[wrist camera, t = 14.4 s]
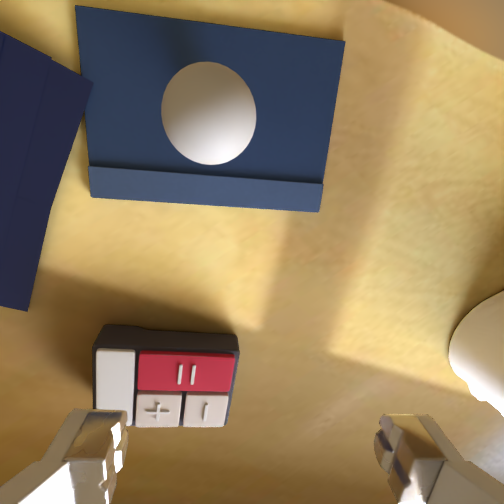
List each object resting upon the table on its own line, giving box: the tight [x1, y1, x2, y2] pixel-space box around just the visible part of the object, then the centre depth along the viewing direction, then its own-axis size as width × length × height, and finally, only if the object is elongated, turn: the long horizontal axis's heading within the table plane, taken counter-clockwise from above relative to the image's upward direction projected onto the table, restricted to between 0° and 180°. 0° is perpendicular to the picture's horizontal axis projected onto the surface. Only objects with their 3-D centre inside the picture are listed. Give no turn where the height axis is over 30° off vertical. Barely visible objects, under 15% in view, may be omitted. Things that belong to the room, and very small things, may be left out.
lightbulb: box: [161, 62, 256, 165], centre depth 22 cm, size 6×6×11 cm
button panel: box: [92, 325, 240, 427], centre depth 35 cm, size 11×4×15 cm
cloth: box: [75, 5, 345, 212], centre depth 27 cm, size 22×15×1 cm
